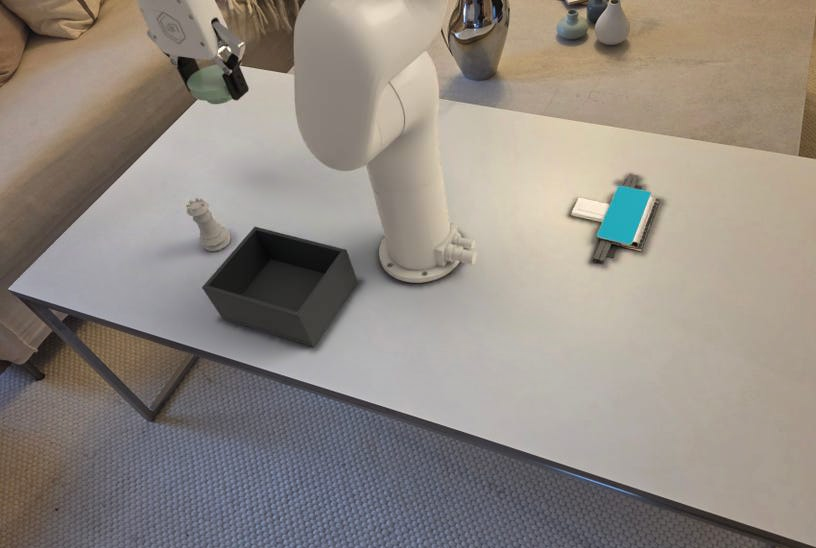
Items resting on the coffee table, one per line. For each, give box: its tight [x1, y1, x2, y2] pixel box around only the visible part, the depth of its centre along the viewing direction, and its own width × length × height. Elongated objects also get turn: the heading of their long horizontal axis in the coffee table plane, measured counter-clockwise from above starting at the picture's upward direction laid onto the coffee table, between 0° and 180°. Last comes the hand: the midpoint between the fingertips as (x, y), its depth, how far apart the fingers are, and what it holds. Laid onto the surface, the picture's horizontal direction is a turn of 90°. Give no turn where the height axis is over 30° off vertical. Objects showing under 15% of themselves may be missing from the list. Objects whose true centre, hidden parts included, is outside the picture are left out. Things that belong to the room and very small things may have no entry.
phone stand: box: [571, 173, 661, 264], centre depth 89 cm, size 20×12×2 cm, turn 157°
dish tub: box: [201, 226, 359, 348], centre depth 81 cm, size 15×12×7 cm
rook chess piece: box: [185, 197, 232, 252], centre depth 89 cm, size 4×4×8 cm
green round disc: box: [187, 64, 233, 105], centre depth 87 cm, size 7×7×3 cm
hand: (219, 90), depth 87 cm, fingers closed on green round disc, 7 cm apart
